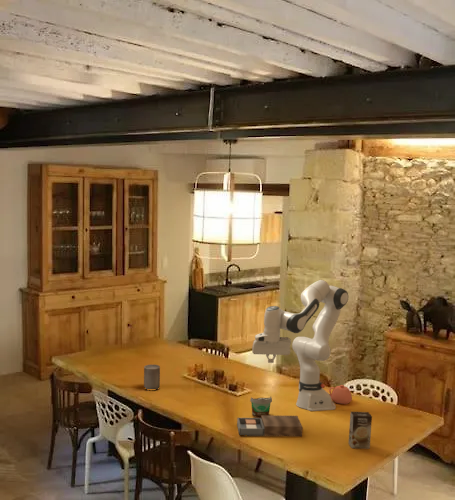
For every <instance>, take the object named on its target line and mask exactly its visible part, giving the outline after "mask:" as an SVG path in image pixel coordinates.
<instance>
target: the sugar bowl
mask: <svg viewBox="0 0 455 500" xmlns="http://www.w3.org/2000/svg"><path fill="white" fill-rule="evenodd" d="M328 390H329V392H328V393H329V394H330V396H331V399H332V402H333V403H334V404H343V405H347V404H349V403H351V402H352V400H353V396H352V395H353V394H352V393H351V391H350V388H348V387H347V386H345V384H340V385H336V386H335V387H334V386H332V387H329V389H328ZM331 391H332V392H331Z"/></svg>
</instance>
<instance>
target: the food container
mask: <svg viewBox="0 0 455 500" xmlns="http://www.w3.org/2000/svg"><path fill="white" fill-rule="evenodd" d="M272 398H273V397H272V396H270V397H257V398H254V397H252V396H251V397H250V400H249V402H251V403H250V404H251V415H252V416H253V417H254V418H261V415H270V409H271V403H272V402H273V399H272Z"/></svg>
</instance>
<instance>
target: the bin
mask: <svg viewBox="0 0 455 500" xmlns="http://www.w3.org/2000/svg"><path fill="white" fill-rule="evenodd" d="M236 419H237V421H236V422H237V423H236V427H237V431H238V436H239V435H244V436H243V437H265V436H264V432H265V429H264V425H263V422H262V419H261V418H259V417H237V418H236ZM245 420H255V421H256V427H257V428H246V425H245ZM245 435H247V436H245Z"/></svg>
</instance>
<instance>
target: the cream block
mask: <svg viewBox="0 0 455 500" xmlns="http://www.w3.org/2000/svg"><path fill="white" fill-rule="evenodd" d="M246 428H257V427H256V425H246Z"/></svg>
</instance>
